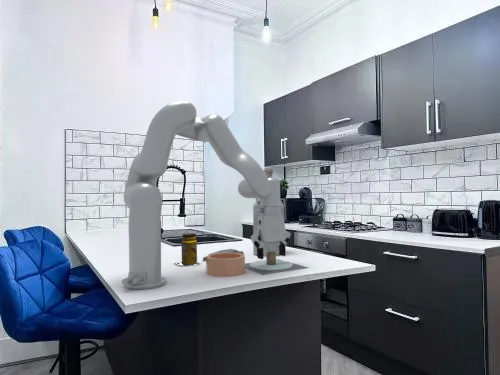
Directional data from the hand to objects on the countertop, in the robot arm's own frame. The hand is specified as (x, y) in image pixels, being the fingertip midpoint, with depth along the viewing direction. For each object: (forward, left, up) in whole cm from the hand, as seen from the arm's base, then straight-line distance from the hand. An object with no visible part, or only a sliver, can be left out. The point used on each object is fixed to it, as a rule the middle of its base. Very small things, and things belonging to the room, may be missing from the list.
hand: (271, 257), depth 131 cm
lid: (0, 0, -3) cm, 3 cm away
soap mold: (+17, +24, -5) cm, 29 cm away
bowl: (-12, +14, -4) cm, 19 cm away
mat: (0, 0, -4) cm, 4 cm away
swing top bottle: (+28, +6, -4) cm, 29 cm away
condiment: (+1, +34, -4) cm, 34 cm away
